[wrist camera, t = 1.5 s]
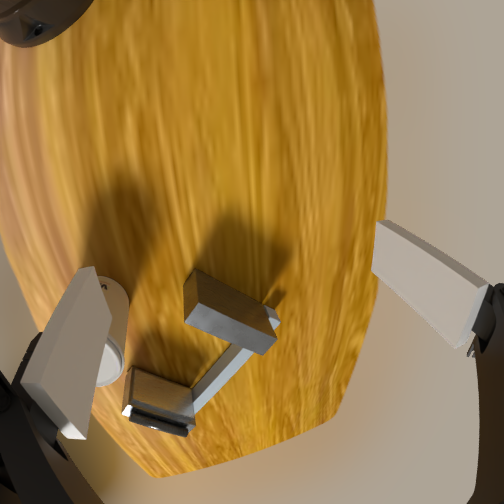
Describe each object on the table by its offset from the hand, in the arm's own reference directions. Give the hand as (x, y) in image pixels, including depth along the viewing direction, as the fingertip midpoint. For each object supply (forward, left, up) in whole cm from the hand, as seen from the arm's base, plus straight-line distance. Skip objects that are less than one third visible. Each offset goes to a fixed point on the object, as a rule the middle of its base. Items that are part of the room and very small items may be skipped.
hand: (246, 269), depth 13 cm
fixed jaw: (+10, -12, -23) cm, 27 cm away
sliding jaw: (+10, -32, -23) cm, 40 cm away
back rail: (+17, -22, -23) cm, 36 cm away
